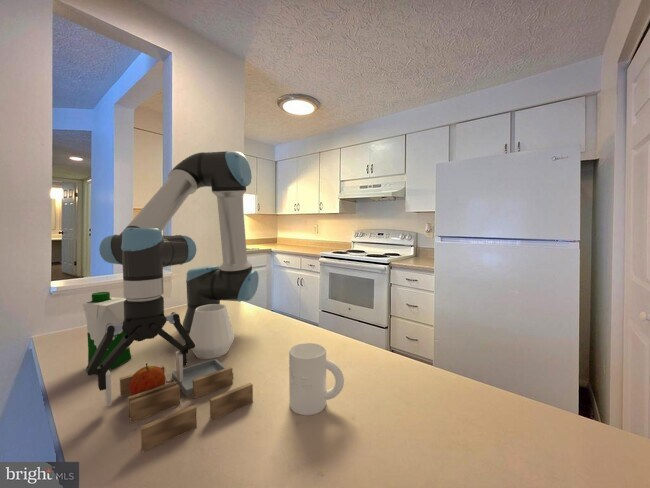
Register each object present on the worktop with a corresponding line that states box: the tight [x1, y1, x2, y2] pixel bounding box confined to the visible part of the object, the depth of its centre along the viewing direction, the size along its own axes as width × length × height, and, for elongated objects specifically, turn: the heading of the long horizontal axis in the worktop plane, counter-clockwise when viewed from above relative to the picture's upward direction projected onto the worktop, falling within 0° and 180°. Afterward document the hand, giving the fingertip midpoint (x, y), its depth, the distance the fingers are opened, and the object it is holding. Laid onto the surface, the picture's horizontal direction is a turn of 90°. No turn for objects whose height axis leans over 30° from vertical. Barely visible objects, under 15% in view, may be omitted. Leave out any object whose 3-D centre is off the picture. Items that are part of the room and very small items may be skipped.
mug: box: [288, 342, 345, 416], centre depth 63 cm, size 8×12×12 cm
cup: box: [188, 303, 235, 360], centre depth 89 cm, size 13×13×14 cm
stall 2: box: [129, 385, 198, 453], centre depth 57 cm, size 9×11×4 cm
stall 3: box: [192, 366, 254, 421], centre depth 65 cm, size 9×11×4 cm
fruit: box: [129, 362, 166, 396], centre depth 65 cm, size 7×7×8 cm
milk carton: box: [82, 291, 132, 371], centre depth 81 cm, size 9×9×20 cm
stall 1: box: [119, 365, 177, 419], centre depth 66 cm, size 9×11×4 cm
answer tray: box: [171, 358, 234, 398], centre depth 74 cm, size 11×11×2 cm
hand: (146, 391), depth 65 cm, fingers open, 13 cm apart
